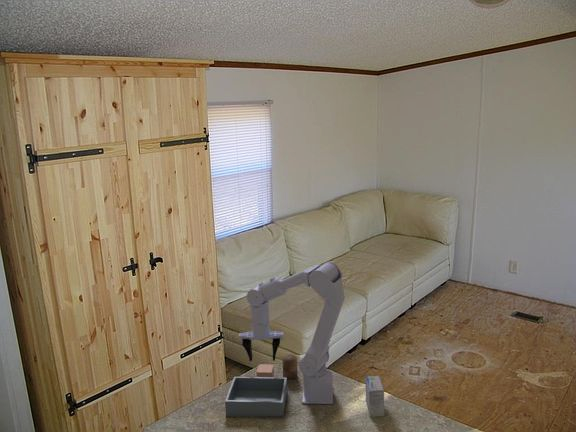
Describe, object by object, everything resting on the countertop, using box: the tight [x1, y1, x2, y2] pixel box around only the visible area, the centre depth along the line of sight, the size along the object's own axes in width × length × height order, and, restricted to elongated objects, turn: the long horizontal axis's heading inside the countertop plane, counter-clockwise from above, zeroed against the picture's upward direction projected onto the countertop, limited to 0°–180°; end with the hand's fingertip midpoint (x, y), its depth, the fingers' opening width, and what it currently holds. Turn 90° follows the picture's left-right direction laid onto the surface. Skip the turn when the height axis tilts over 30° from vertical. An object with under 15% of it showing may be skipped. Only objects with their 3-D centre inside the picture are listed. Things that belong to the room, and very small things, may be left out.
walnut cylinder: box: [281, 353, 298, 382], centre depth 156 cm, size 5×5×7 cm
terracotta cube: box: [256, 363, 275, 377], centre depth 154 cm, size 5×5×5 cm
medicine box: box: [365, 375, 385, 418], centre depth 137 cm, size 8×4×9 cm, turn 179°
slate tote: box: [224, 376, 288, 419], centre depth 142 cm, size 17×13×5 cm
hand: (262, 359), depth 152 cm, fingers open, 7 cm apart
